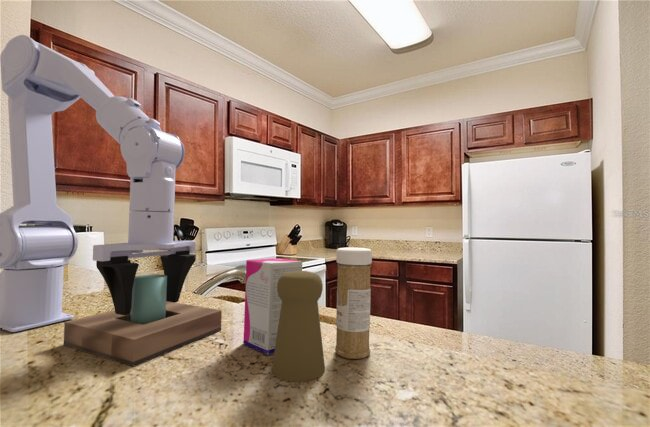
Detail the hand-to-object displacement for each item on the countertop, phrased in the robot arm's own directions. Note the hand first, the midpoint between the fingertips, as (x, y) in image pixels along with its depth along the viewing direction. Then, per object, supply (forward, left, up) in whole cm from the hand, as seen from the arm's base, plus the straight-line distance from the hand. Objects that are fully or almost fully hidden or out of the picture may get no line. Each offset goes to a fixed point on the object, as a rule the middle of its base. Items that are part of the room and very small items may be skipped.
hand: (149, 307), depth 46 cm
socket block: (0, 0, -4) cm, 4 cm away
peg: (0, 0, -4) cm, 4 cm away
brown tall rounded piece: (+24, +1, -4) cm, 24 cm away
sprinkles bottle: (+28, +8, -4) cm, 29 cm away
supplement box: (+17, +6, -4) cm, 19 cm away
